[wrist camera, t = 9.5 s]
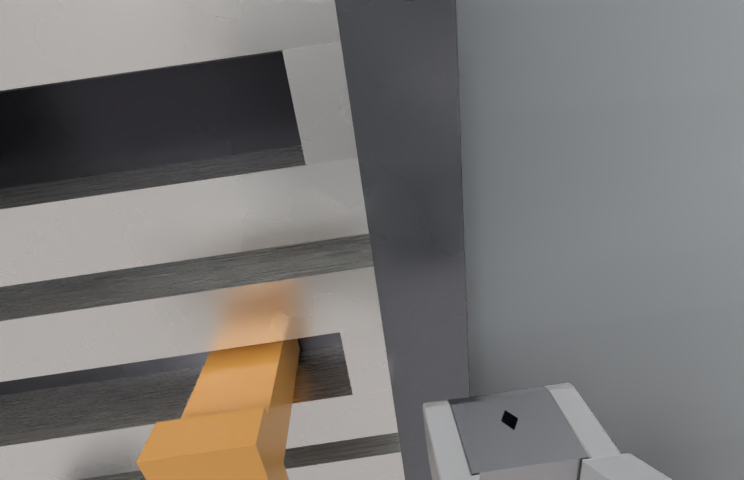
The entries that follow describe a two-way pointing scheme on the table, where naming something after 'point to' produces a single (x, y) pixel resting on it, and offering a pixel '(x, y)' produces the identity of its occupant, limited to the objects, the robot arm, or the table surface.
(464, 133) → the table surface
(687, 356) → the table surface
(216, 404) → the orange breaker
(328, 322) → the breaker board
